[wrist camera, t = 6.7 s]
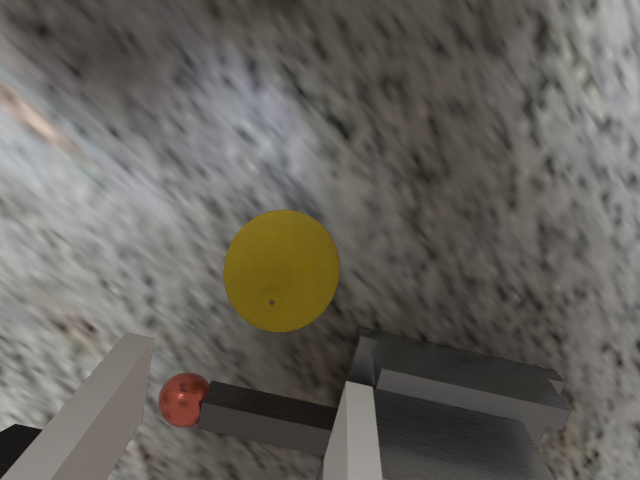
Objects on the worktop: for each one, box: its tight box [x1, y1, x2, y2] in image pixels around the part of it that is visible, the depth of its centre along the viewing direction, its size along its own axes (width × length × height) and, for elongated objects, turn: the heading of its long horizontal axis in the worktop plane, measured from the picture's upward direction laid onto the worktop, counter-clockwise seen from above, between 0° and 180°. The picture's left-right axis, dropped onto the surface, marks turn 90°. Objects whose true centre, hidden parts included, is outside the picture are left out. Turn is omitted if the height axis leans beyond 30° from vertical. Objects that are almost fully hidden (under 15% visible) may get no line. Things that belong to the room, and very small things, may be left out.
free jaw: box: [158, 373, 554, 480], centre depth 26 cm, size 3×20×7 cm, turn 77°
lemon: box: [224, 210, 340, 332], centre depth 25 cm, size 6×6×8 cm
